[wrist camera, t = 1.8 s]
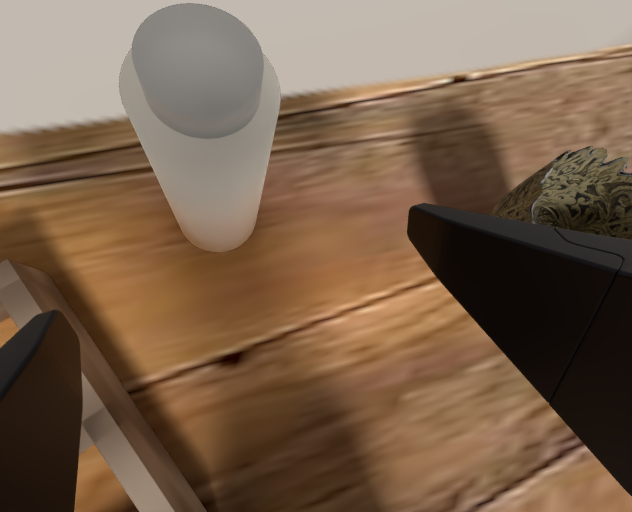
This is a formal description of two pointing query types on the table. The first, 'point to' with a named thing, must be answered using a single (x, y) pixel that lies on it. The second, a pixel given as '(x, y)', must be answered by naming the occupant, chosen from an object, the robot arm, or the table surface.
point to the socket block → (103, 402)
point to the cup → (575, 195)
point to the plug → (203, 118)
